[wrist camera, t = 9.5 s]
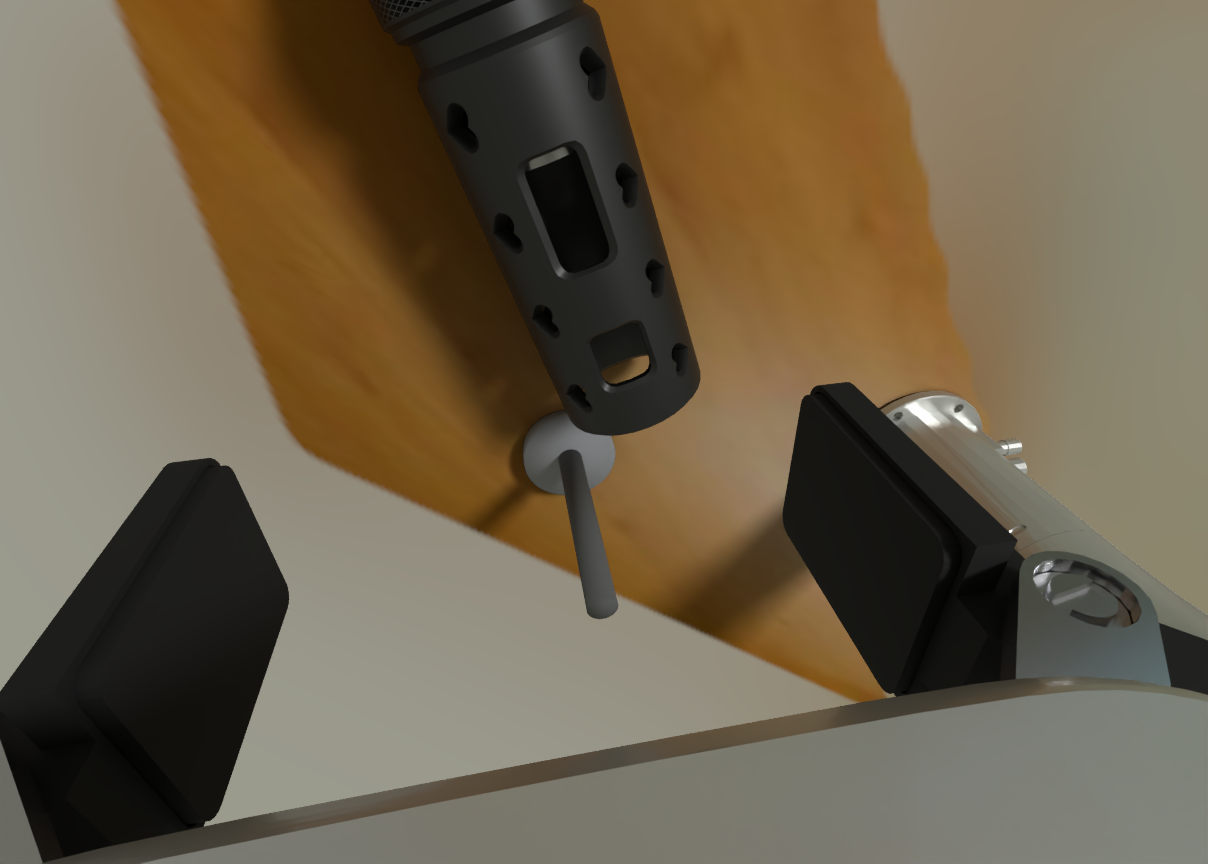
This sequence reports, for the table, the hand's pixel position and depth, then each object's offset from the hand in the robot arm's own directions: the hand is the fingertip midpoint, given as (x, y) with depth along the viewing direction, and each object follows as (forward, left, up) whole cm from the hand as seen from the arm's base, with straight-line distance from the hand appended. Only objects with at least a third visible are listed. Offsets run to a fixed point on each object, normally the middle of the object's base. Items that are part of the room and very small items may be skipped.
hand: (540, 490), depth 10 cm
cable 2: (-3, +21, -31) cm, 37 cm away
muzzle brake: (-3, 0, -31) cm, 31 cm away
